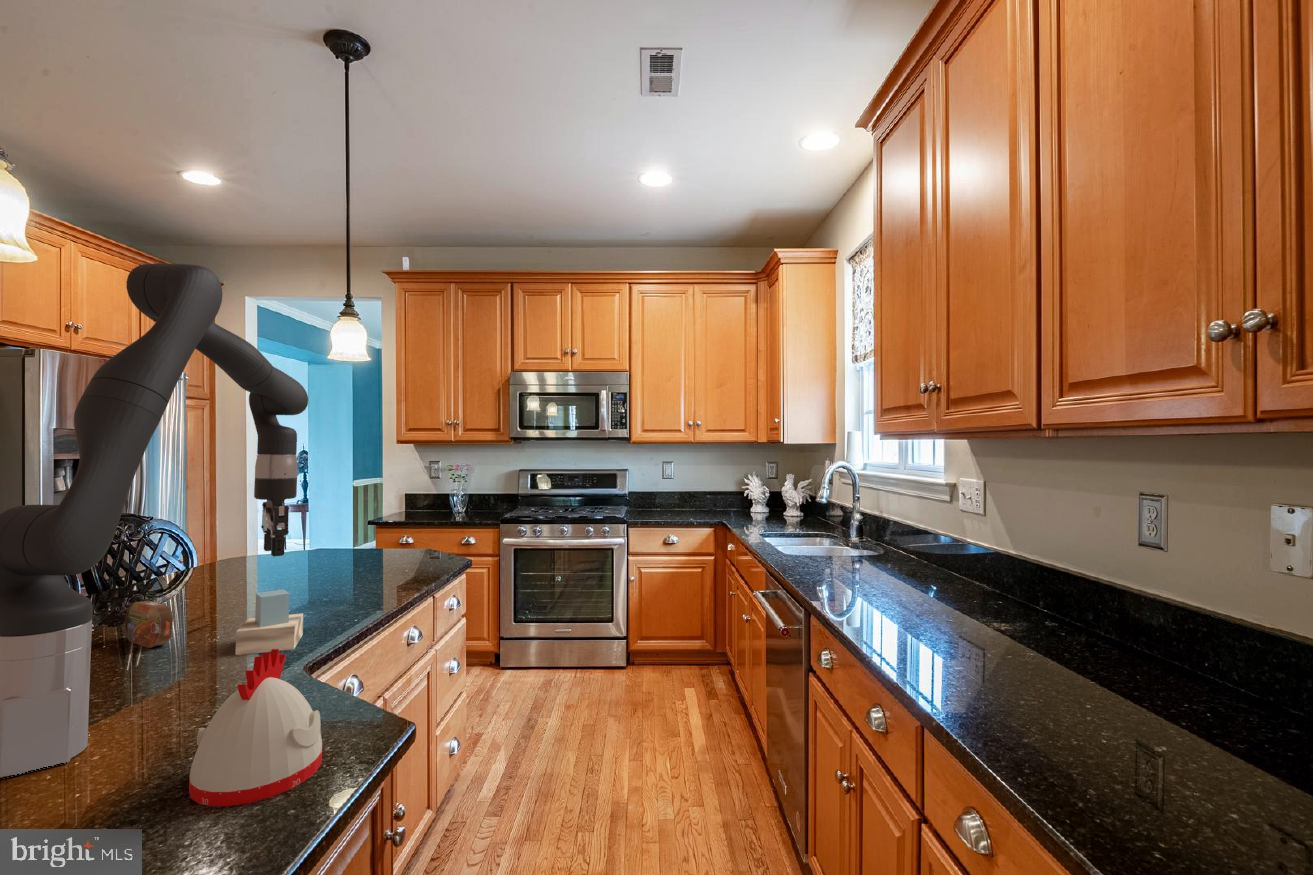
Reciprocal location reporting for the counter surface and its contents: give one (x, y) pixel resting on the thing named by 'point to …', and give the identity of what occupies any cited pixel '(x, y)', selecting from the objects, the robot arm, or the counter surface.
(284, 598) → the blue-gray block
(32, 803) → the counter surface
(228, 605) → the counter surface
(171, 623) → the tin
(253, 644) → the birch block
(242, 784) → the kitchen timer
